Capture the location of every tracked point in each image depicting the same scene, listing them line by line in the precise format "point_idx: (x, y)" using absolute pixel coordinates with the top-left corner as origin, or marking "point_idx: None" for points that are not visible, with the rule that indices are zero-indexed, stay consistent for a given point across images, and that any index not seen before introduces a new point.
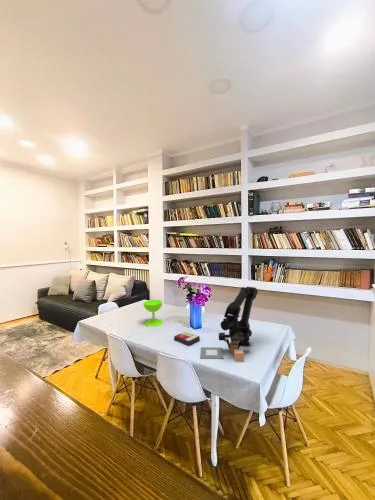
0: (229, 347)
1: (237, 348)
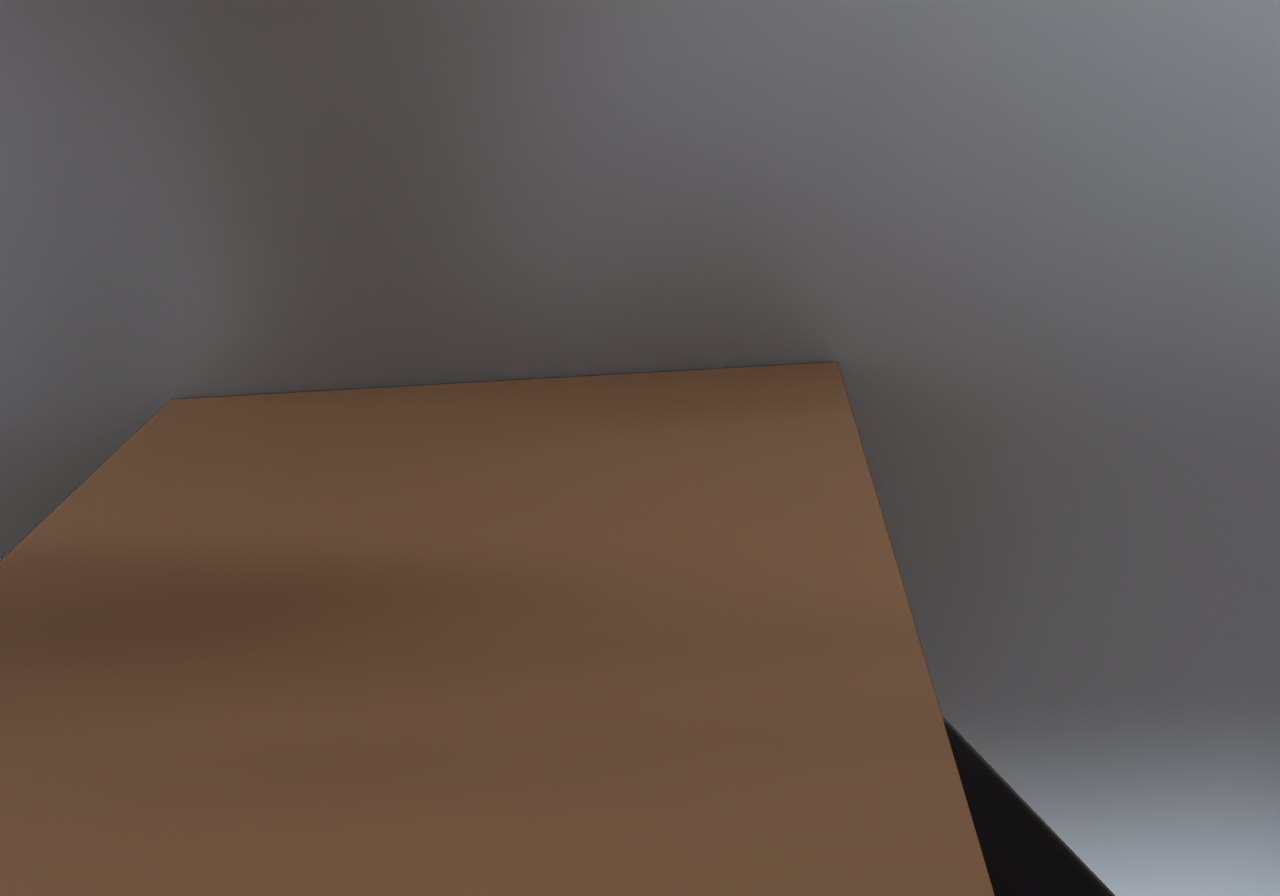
0: None
1: (7, 650)
